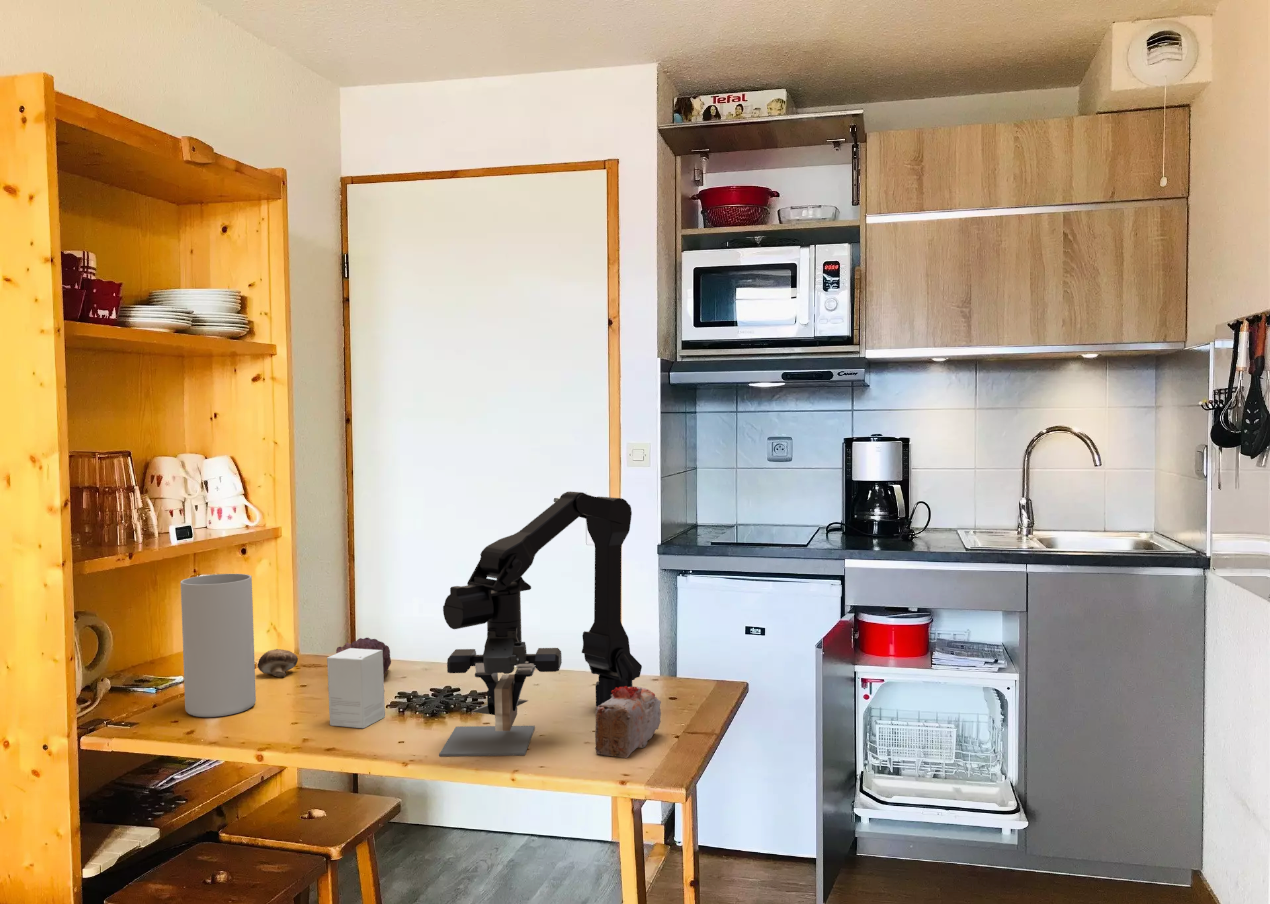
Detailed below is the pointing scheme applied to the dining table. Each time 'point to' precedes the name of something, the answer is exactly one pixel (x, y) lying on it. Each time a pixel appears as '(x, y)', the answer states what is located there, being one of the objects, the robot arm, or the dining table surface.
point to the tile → (504, 703)
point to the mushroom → (277, 662)
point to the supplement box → (356, 687)
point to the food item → (626, 721)
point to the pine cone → (370, 644)
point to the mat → (487, 741)
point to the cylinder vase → (218, 644)
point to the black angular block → (492, 705)
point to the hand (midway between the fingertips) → (506, 710)
